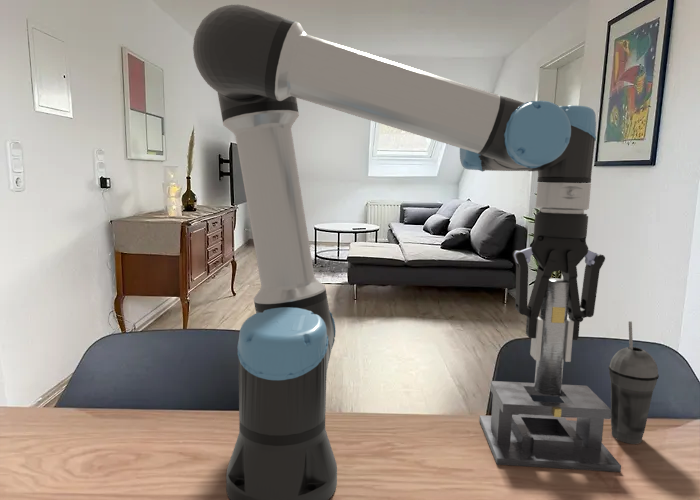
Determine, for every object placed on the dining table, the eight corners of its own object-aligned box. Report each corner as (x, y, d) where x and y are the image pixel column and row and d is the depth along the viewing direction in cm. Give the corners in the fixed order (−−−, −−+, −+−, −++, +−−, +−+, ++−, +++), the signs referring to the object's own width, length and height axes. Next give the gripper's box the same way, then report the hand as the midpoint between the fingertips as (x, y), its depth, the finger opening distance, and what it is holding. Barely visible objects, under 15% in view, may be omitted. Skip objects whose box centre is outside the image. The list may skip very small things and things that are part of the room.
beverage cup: (659, 451, 79) (672, 330, 76) (610, 445, 80) (621, 326, 78) (641, 429, 86) (653, 318, 83) (597, 424, 87) (607, 315, 85)
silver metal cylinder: (531, 384, 81) (539, 277, 79) (555, 386, 81) (564, 278, 78) (538, 395, 77) (547, 282, 74) (565, 396, 77) (574, 283, 74)
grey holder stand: (496, 464, 74) (500, 410, 73) (479, 420, 88) (482, 375, 87) (620, 472, 73) (626, 417, 71) (583, 426, 86) (587, 380, 85)
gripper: (511, 210, 72) (501, 363, 75) (631, 214, 71) (615, 369, 74) (499, 208, 79) (490, 348, 82) (607, 211, 78) (594, 352, 81)
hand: (549, 357), depth 78 cm, fingers closed on silver metal cylinder, 4 cm apart
